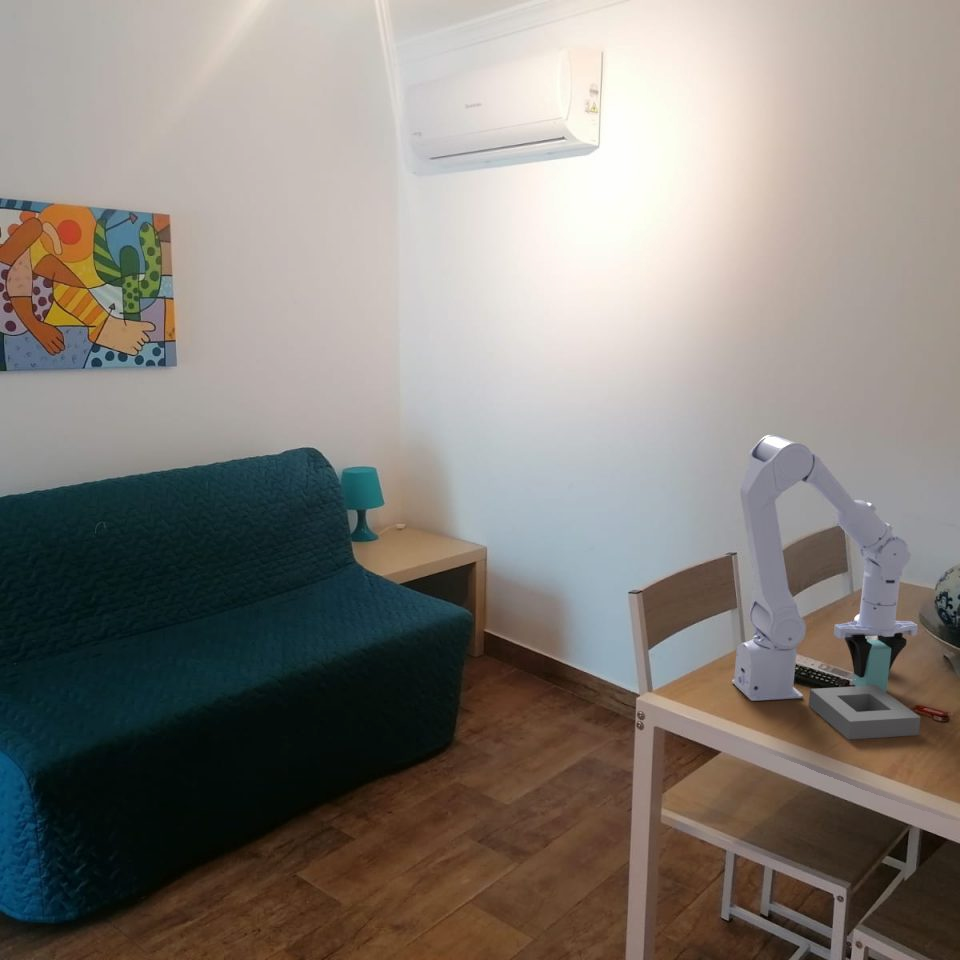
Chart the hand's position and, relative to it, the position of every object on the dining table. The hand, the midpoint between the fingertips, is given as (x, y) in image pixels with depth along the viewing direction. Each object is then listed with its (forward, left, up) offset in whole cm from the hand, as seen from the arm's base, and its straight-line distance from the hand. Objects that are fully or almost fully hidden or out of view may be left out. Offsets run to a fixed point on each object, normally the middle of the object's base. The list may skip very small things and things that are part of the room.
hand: (870, 674), depth 162 cm
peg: (0, 0, -2) cm, 2 cm away
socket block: (-8, -11, -2) cm, 15 cm away
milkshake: (+6, +11, -3) cm, 13 cm away
